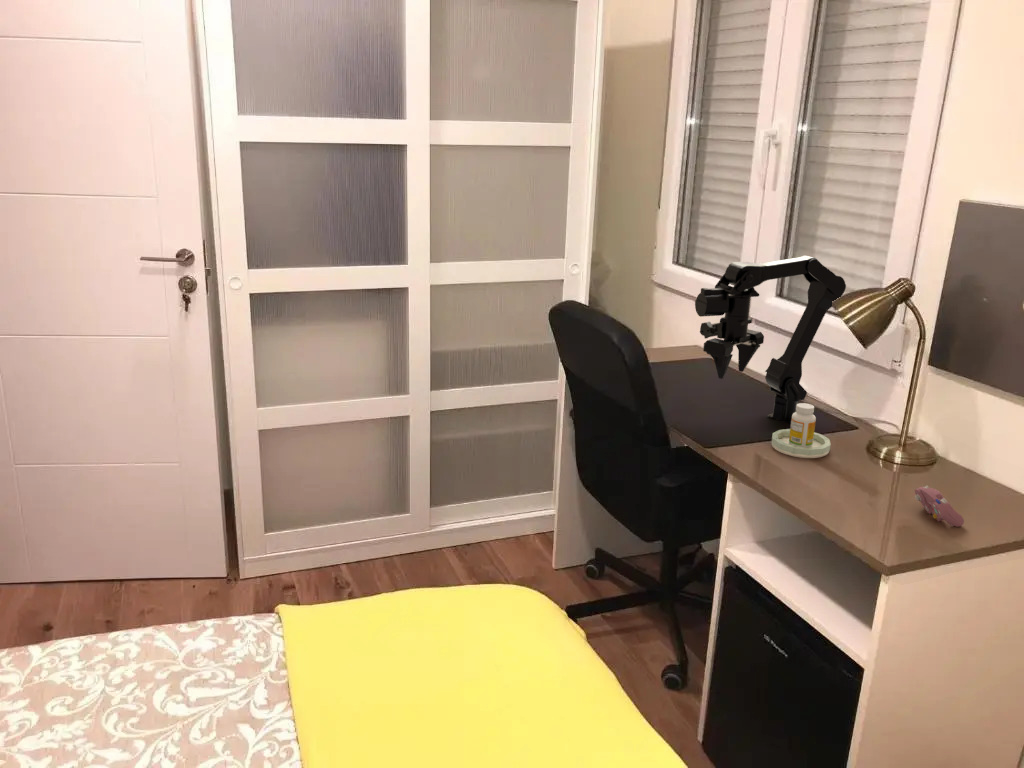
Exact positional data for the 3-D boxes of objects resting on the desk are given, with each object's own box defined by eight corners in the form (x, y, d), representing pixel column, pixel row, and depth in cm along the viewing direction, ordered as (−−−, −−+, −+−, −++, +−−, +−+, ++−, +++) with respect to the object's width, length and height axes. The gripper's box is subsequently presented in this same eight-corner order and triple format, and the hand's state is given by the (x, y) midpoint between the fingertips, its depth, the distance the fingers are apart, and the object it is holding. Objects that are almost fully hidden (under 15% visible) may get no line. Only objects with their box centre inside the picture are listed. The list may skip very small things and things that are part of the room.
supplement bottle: (809, 440, 199) (814, 402, 196) (814, 449, 193) (820, 410, 190) (786, 439, 199) (791, 401, 196) (791, 447, 194) (796, 408, 191)
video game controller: (917, 512, 168) (907, 484, 166) (938, 502, 168) (928, 475, 165) (945, 536, 159) (935, 507, 156) (967, 525, 158) (957, 496, 156)
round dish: (788, 433, 205) (789, 425, 204) (838, 448, 196) (840, 439, 196) (761, 446, 197) (762, 438, 196) (812, 462, 188) (813, 453, 187)
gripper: (729, 303, 214) (723, 361, 219) (687, 314, 202) (682, 375, 207) (767, 311, 207) (761, 370, 212) (726, 322, 194) (720, 385, 199)
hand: (730, 374), depth 208 cm, fingers open, 9 cm apart
